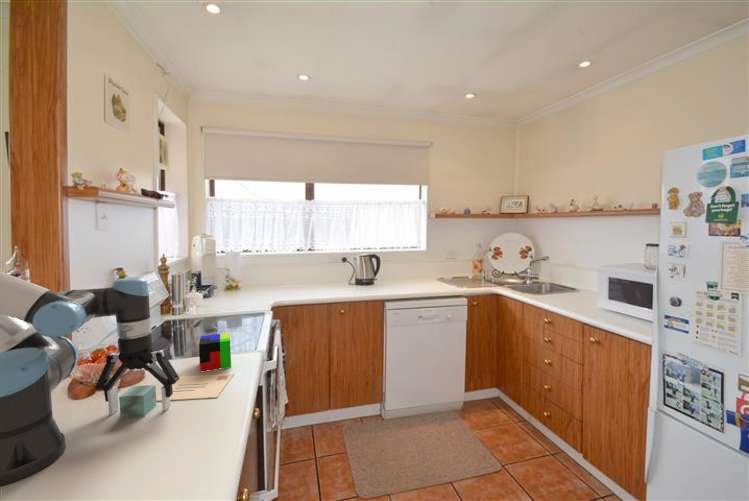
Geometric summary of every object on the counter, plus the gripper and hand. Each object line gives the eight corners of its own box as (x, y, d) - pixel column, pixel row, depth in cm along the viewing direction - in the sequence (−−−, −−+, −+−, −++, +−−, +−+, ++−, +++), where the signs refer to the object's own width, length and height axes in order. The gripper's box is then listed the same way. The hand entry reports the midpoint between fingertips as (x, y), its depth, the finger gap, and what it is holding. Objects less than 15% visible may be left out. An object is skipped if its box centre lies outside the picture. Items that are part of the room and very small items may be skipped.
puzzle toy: (201, 362, 127) (200, 336, 127) (230, 357, 131) (229, 332, 131) (200, 372, 118) (198, 344, 117) (231, 367, 122) (230, 340, 121)
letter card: (152, 401, 98) (152, 400, 98) (178, 377, 114) (178, 376, 114) (217, 397, 100) (217, 396, 100) (233, 374, 116) (233, 373, 116)
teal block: (120, 418, 90) (119, 396, 90) (134, 406, 96) (132, 386, 95) (144, 416, 91) (143, 395, 90) (156, 405, 97) (155, 384, 96)
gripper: (74, 342, 87) (81, 421, 88) (176, 336, 89) (181, 413, 91) (95, 332, 94) (101, 406, 96) (189, 328, 97) (193, 399, 98)
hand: (140, 410), depth 93 cm, fingers open, 13 cm apart
